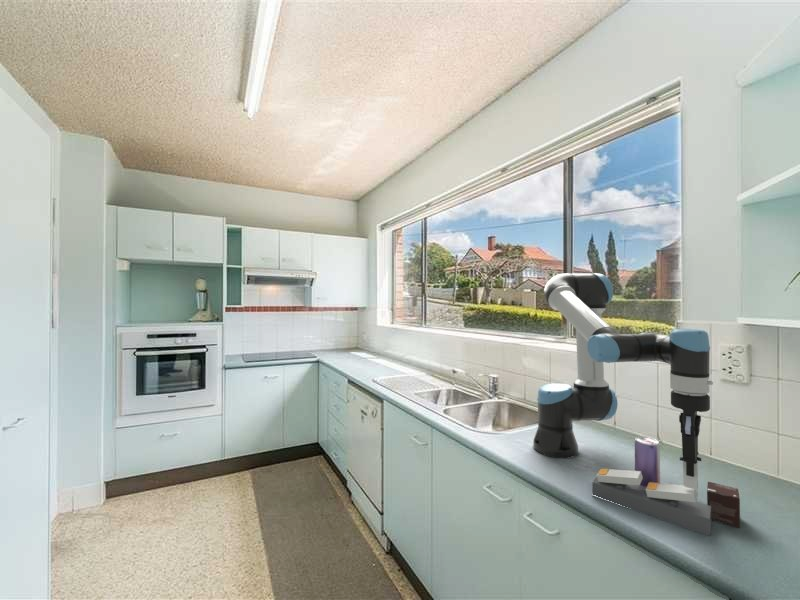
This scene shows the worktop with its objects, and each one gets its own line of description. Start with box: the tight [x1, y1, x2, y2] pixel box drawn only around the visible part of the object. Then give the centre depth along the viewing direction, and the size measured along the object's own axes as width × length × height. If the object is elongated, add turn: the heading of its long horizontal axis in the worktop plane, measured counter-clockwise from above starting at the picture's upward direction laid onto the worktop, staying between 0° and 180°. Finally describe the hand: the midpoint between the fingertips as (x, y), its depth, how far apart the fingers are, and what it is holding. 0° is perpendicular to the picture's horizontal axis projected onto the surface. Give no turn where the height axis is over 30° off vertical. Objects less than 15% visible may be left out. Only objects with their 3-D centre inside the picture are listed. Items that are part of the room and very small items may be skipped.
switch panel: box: [591, 476, 712, 537], centre depth 95 cm, size 25×7×5 cm, turn 47°
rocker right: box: [646, 482, 699, 502], centre depth 91 cm, size 10×5×2 cm, turn 46°
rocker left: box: [596, 468, 643, 485], centre depth 99 cm, size 10×5×2 cm, turn 46°
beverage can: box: [634, 436, 661, 487], centre depth 102 cm, size 6×6×15 cm
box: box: [706, 481, 741, 529], centre depth 90 cm, size 6×6×7 cm
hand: (690, 487), depth 88 cm, fingers closed
